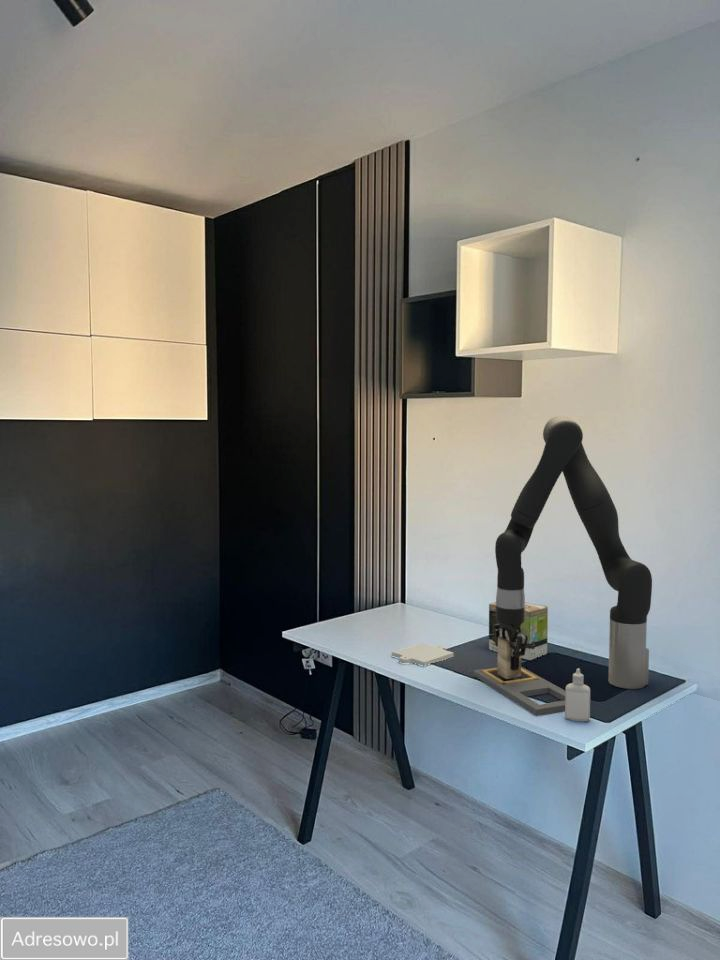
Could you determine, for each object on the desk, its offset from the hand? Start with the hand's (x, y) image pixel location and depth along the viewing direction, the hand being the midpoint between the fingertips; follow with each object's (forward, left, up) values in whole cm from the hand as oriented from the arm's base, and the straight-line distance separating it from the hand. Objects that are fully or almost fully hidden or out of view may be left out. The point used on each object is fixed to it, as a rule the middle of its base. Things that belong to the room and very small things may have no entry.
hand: (509, 666), depth 201 cm
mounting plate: (+13, -27, -5) cm, 30 cm away
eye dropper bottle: (-1, +28, -4) cm, 28 cm away
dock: (0, +8, -4) cm, 9 cm away
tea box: (-16, -21, -4) cm, 27 cm away
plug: (0, 0, -2) cm, 2 cm away
